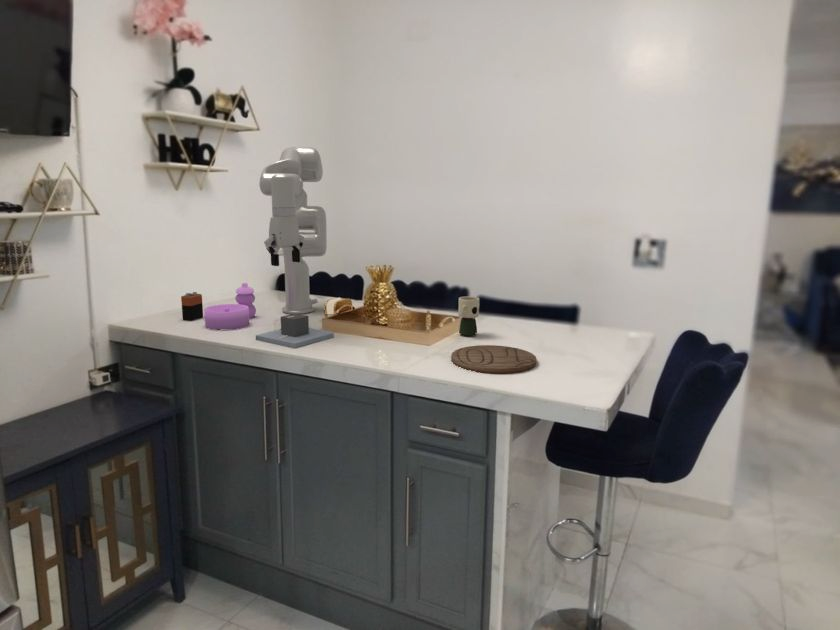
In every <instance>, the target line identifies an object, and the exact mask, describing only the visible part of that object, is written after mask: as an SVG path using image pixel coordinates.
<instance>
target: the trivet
mask: <svg viewBox="0 0 840 630" xmlns="http://www.w3.org/2000/svg"><path fill="white" fill-rule="evenodd" d="M450 358H451V360H450V361H451V363H452V362H453V363H452V364H453V365H454V364H455V365H454V366H455V367H457V366H458V367H457V368H459V367H461V368H460V369H462V368H463V369H462V370H465V369H466V371H469V370H471V371H470V372H473V371H475V372H474V373H479V372H480V374H488V375H489V374H490V375H513V374H520V373H524V372H527V371H531V370H533V369H535V368H536V366H537V363H538V362H537V360H538V359H537V356H536V355H535V354H533V352H530V351H528V350H525V349H522V348H517V347H511V346H505V345H496V344H495V345H494V344H492V345H491V344H487V345H486V344H485V345H484V344H481V345H472V346H471V345H470V346H464V347H461V348H458V349H455V350H453V352H452V353H451V356H450Z"/></svg>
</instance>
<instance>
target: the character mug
mask: <svg viewBox="0 0 840 630" xmlns="http://www.w3.org/2000/svg"><path fill="white" fill-rule="evenodd" d="M457 311H458V312H457V313H458V316H459V317H461V320H460V322H459V323H460V324H459V329H458V333H459V334H461V335H464V336H465V337H467V336H468V337H469V336H476V335H477V334H478V328H477V320H476V318H478V317H479V315H480V298H479V297H476V296H468V295H467V296H460V297H458V310H457Z"/></svg>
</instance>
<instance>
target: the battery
mask: <svg viewBox="0 0 840 630" xmlns="http://www.w3.org/2000/svg"><path fill="white" fill-rule="evenodd" d="M180 299H181V300H180V301H181V302H180V303H181V313H182V314H181V316H182V320H183V321H190V322H192V321H195V320H199V319H202V318H204V309H203V295H202V294H201V293H198V292H197V291H193V292H192V293H191V292H186V293H185V294H184V295H182V296H180Z"/></svg>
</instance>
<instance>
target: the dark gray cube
mask: <svg viewBox="0 0 840 630" xmlns="http://www.w3.org/2000/svg"><path fill="white" fill-rule="evenodd" d="M309 321H310V320H309V315H305V314H286V315H282V316H280V329H281V334H282V335H287V336H292V337H298V336H301V335H305V334H309V328H310V325H309V324H310V323H309Z"/></svg>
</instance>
